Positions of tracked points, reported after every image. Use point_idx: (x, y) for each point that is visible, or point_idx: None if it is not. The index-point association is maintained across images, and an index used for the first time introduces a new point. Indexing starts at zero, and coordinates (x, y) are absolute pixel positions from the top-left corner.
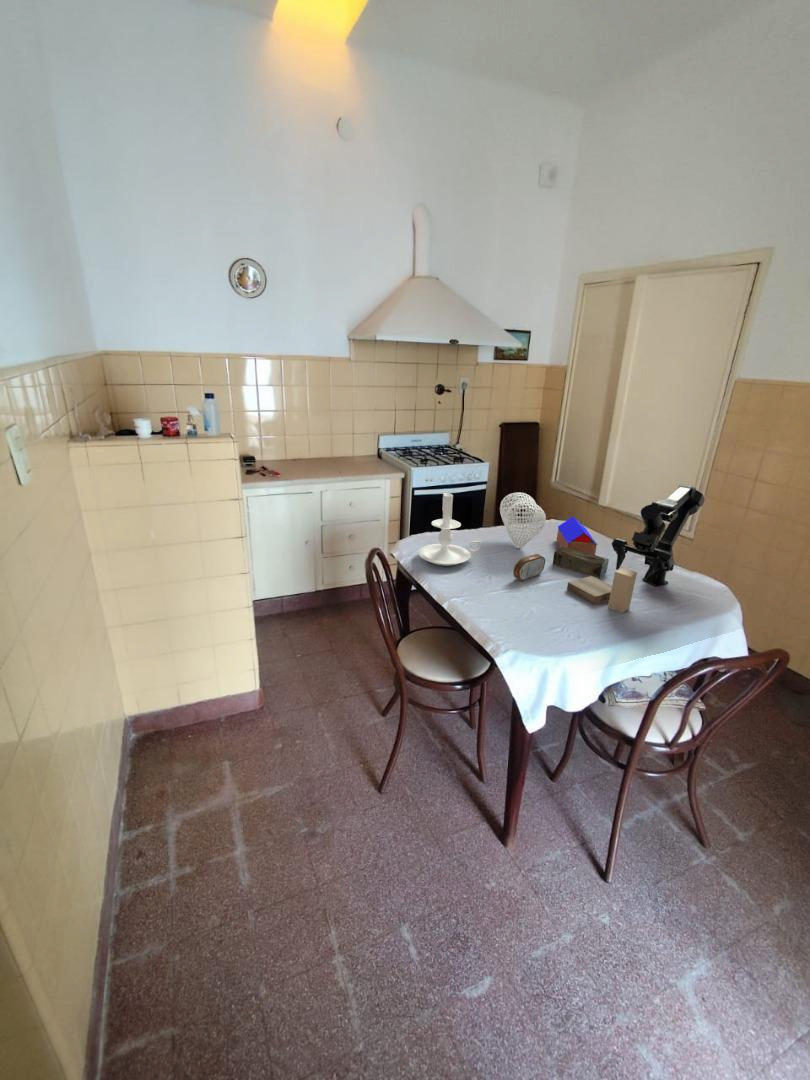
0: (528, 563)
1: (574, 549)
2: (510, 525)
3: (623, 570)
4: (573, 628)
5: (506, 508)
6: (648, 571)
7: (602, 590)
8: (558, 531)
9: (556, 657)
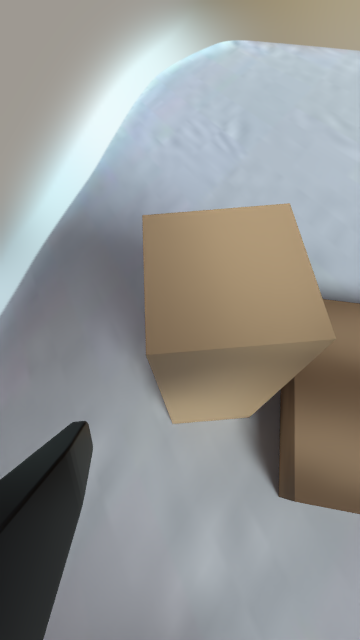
0: None
1: None
2: None
3: (264, 277)
4: (211, 159)
5: None
6: (29, 475)
7: (332, 386)
8: None
9: (161, 76)
